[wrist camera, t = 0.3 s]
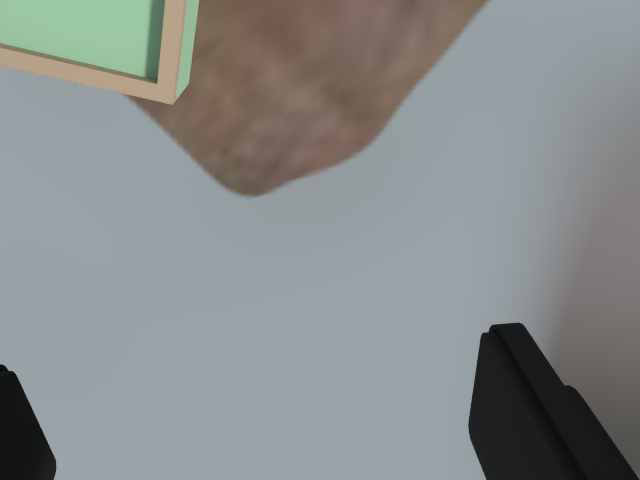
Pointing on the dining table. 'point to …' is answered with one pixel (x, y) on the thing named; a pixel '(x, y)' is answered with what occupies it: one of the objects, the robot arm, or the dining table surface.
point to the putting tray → (103, 43)
